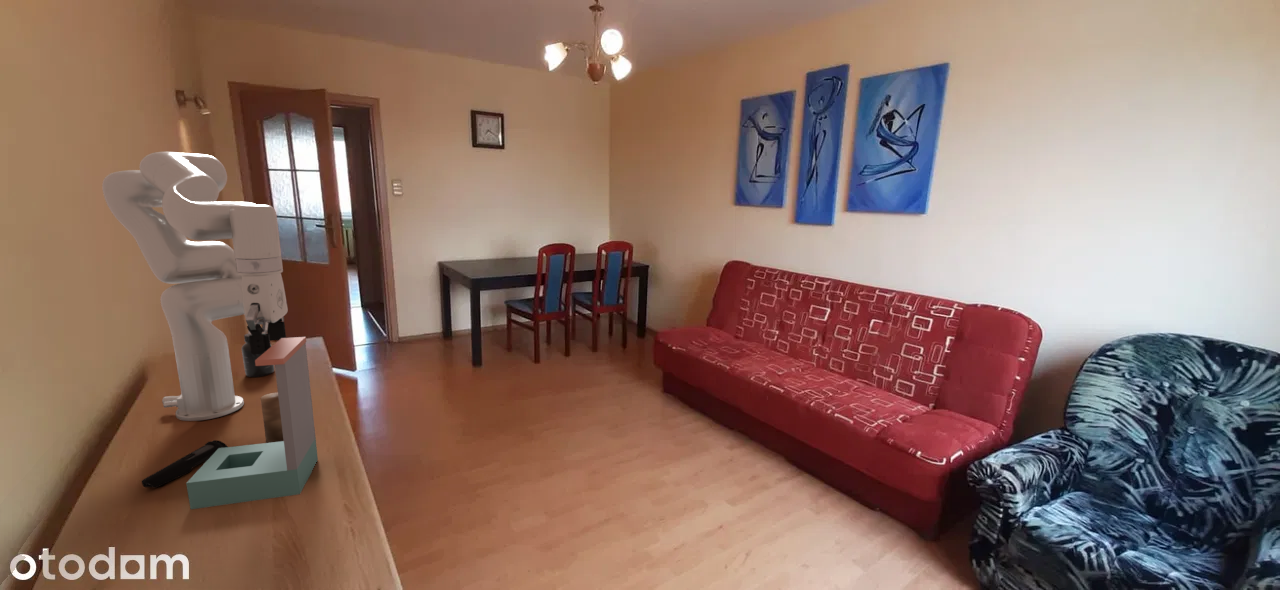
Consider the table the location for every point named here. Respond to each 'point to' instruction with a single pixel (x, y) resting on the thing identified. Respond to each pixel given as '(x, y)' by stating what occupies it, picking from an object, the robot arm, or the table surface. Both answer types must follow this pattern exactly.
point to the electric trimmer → (183, 464)
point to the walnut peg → (272, 418)
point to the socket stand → (266, 464)
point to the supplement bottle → (253, 362)
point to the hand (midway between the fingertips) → (269, 346)
